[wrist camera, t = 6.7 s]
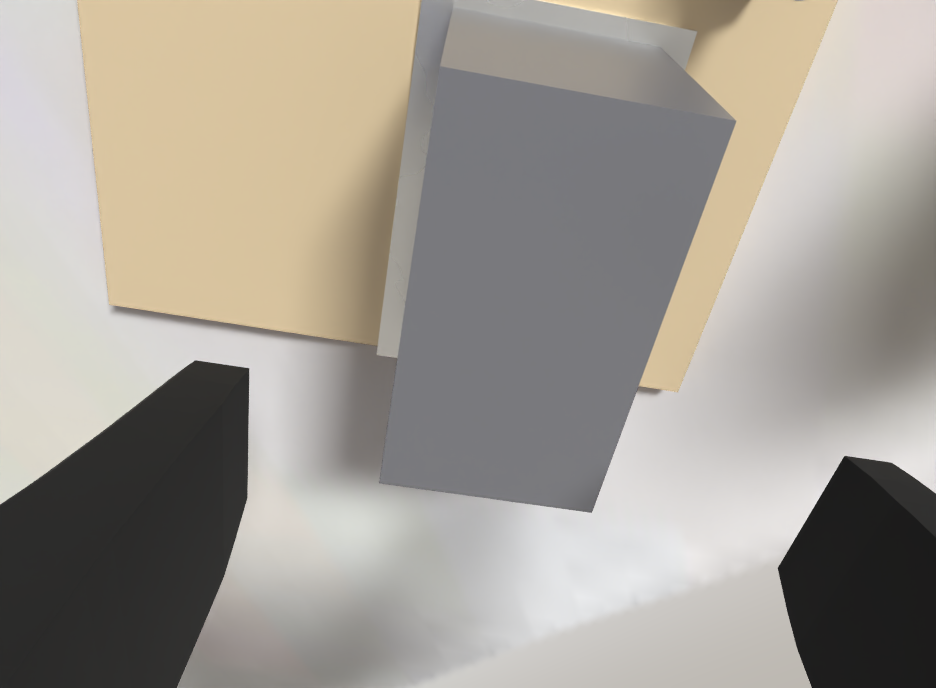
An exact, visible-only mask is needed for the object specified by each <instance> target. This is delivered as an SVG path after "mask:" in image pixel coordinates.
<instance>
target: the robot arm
mask: <svg viewBox="0 0 936 688" xmlns="http://www.w3.org/2000/svg"><path fill="white" fill-rule="evenodd" d="M248 414H249V368H243V367H236V366H229V365H223V364H216V363H209V362H202V361H194V362H192V363H191V364H189V365H188V366H187V367H185V368H184V369H182V370H181V371H180V372H178V373H177V374H176V375H175V376H173V377H172V378H171V379H169V380H168V381H167V382H166V383H164V384H163V385H162V386H160V387H159V388H158V389H157V390H155V391H154V392H153V393H152V394H150V395H149V396H148V397H146V398H145V399H144V400H143V401H141V402H140V403H139V404H138V405H136V406H135V407H134V408H132V409H131V410H130V411H129V412H127V413H126V414H125V415H123V416H122V417H121V418H119V419H118V420H117V421H116V422H114V423H113V424H112V425H110V426H109V427H108V428H106V429H105V430H104V431H103V432H101V433H100V434H99V435H97V436H96V437H94V438H93V439H92V440H90V441H89V442H88V443H86V444H85V445H84V446H82V447H81V448H80V449H78V450H77V451H75V452H74V453H73V454H71V455H70V456H69V457H67V458H66V459H65V460H63V461H62V462H61V463H59V464H58V465H56V466H55V467H54V468H52V469H51V470H50V471H48V472H47V473H46V474H44V475H43V476H41V477H40V478H39V479H37V480H36V481H34V482H33V483H32V484H30V485H29V486H27V487H26V488H24V489H23V490H21V491H20V492H18V493H17V494H15V495H14V496H12V497H11V498H9V499H8V500H6V501H5V502H3V503H2V504H0V688H177V686H178V683H179V681H180V679H181V676H182V674H183V672H184V669H185V667H186V665H187V662H188V660H189V658H190V655H191V653H192V651H193V648H194V646H195V644H196V641H197V639H198V637H199V634H200V632H201V630H202V627H203V625H204V623H205V620H206V618H207V616H208V613H209V611H210V608H211V606H212V604H213V601H214V599H215V597H216V594H217V592H218V589H219V587H220V585H221V582H222V580H223V577H224V575H225V571H226V568H227V565H228V561H229V558H230V555H231V552H232V548H233V545H234V542H235V538H236V535H237V532H238V528H239V525H240V521H241V518H242V514H243V511H244V507H245V504H246V500H247V482H248ZM778 571H779V575H780V580H781V585H782V589H783V594H784V598H785V602H786V607H787V612H788V616H789V619H790V623H791V627H792V631H793V634H794V638H795V642H796V646H797V649H798V652H799V654H800V657H801V660H802V663H803V665H804V668H805V671H806V673H807V676H808V678H809V681H810V684H811V686H812V688H936V494H935V493H934V492H933V491H931V490H930V489H929V488H927V487H926V486H925V485H923V484H922V483H921V482H919V481H918V480H916V479H915V478H914V477H912V476H911V475H909V474H908V473H906V472H905V471H903V470H902V469H900V468H899V467H897V466H896V465H894V464H893V463H889V462H882V461H876V460H869V459H862V458H855V457H848V456H844V458H843V459H842V461H841V463H840V465H839V466H838V468H837V470H836V471H835V473H834V475H833V476H832V478H831V480H830V481H829V483H828V485H827V486H826V488H825V490H824V491H823V493H822V495H821V496H820V498H819V500H818V501H817V503H816V505H815V507H814V508H813V510H812V512H811V513H810V515H809V517H808V518H807V520H806V522H805V523H804V525H803V527H802V528H801V530H800V532H799V533H798V535H797V537H796V538H795V540H794V542H793V544H792V545H791V547H790V549H789V550H788V552H787V554H786V555H785V557H784V559H783V560H782V562H781V564H780V565H779V567H778Z"/></svg>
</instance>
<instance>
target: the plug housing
mask: <svg viewBox="0 0 936 688" xmlns="http://www.w3.org/2000/svg"><path fill="white" fill-rule="evenodd" d="M735 124H736V120H735V119H734V118H733V117H732V116H731V115H730V114H729V113H728V112H727V111H726V110H725V109H724V108H723V107H722V106H721V105H720V104H719V103H718V102H717V101H716V100H715V99H714V98H713V97H712V96H711V95H709V94H708V93H707V92H706V91H705V90H704V89H703V88H702V87H701V86H700V85H699V84H698V83H697V82H696V81H695V80H694V79H693V78H692V77H691V76H690V75H689V74H688V73H687V72H686V71H685V70H684V69H683V68H682V67H681V66H680V65H679V64H678V63H677V62H676V61H674V60H673V59H672V58H671V57H670V56H669V55H668V54H667V53H666V52H665V51H664V50H663V49H662V48H661V47H659V46H654V45H649V44H644V43H638V42H633V41H628V40H623V39H618V38H612V37H607V36H602V35H597V34H591V33H586V32H581V31H576V30H570V29H565V28H560V27H555V26H550V25H544V24H539V23H534V22H529V21H523V20H518V19H513V18H508V17H502V16H497V15H492V14H487V13H481V12H476V11H471V10H466V9H461V8H455V7H453V10H452V15H451V19H450V24H449V28H448V33H447V37H446V41H445V46H444V50H443V55H442V59H441V64H440V69H439V76H438V83H437V90H436V97H435V103H434V110H433V117H432V124H431V131H430V138H429V145H428V151H427V158H426V165H425V172H424V179H423V186H422V193H421V200H420V206H419V213H418V220H417V227H416V234H415V241H414V248H413V254H412V261H411V268H410V275H409V282H408V289H407V296H406V302H405V309H404V316H403V323H402V330H401V337H400V344H399V351H398V357H397V364H396V371H395V378H394V385H393V392H392V399H391V405H390V412H389V419H388V426H387V433H386V440H385V447H384V453H383V460H382V467H381V474H380V481H379V483H382V484H389V485H396V486H403V487H410V488H418V489H425V490H432V491H439V492H446V493H454V494H461V495H468V496H475V497H483V498H490V499H497V500H504V501H511V502H519V503H526V504H533V505H540V506H547V507H555V508H562V509H569V510H576V511H583V512H591V513H592V511H593V508H594V505H595V503H596V500H597V497H598V495H599V492H600V489H601V486H602V484H603V481H604V478H605V476H606V473H607V470H608V467H609V465H610V462H611V459H612V457H613V454H614V451H615V449H616V446H617V443H618V440H619V438H620V435H621V432H622V430H623V427H624V424H625V422H626V419H627V416H628V413H629V411H630V408H631V405H632V403H633V400H634V397H635V394H636V392H637V389H638V386H639V384H640V381H641V378H642V376H643V373H644V370H645V367H646V365H647V362H648V359H649V357H650V354H651V351H652V349H653V346H654V343H655V340H656V338H657V335H658V332H659V330H660V327H661V324H662V321H663V319H664V316H665V313H666V311H667V308H668V305H669V303H670V300H671V297H672V294H673V292H674V289H675V286H676V284H677V281H678V278H679V275H680V273H681V270H682V267H683V265H684V262H685V259H686V257H687V254H688V251H689V248H690V246H691V243H692V240H693V238H694V235H695V232H696V230H697V227H698V224H699V221H700V219H701V216H702V213H703V211H704V208H705V205H706V202H707V200H708V197H709V194H710V192H711V189H712V186H713V184H714V181H715V178H716V175H717V173H718V170H719V167H720V165H721V162H722V159H723V157H724V154H725V151H726V148H727V146H728V143H729V140H730V138H731V135H732V132H733V129H734V127H735Z"/></svg>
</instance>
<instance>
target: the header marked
mask: <svg viewBox="0 0 936 688" xmlns="http://www.w3.org/2000/svg"><path fill="white" fill-rule="evenodd" d="M453 7H455V8H461V9H466V10H471V11H476V12H481V13H487V14H492V15H497V16H502V17H508V18H513V19H518V20H523V21H529V22H534V23H539V24H544V25H550V26H555V27H560V28H565V29H570V30H576V31H581V32H586V33H591V34H597V35H602V36H607V37H612V38H618V39H623V40H628V41H633V42H638V43H644V44H649V45H654V46H659V47H661V48H662V49H663V50H664V51H665V52H666V53H667V54H668V55H669V56H670V57H671V58H672V59H673V60H674V61H676V62H677V63H678V64H679V65H680V66H681V67H682V68H683V69H684V70H685V69H686V66H687V62H688V59H689V56H690V53H691V50H692V47H693V44H694V41H695V37H696V34H697V31H696V30H691V29H685V28H680V27H675V26H670V25H665V24H660V23H654V22H649V21H644V20H639V19H634V18H629V17H624V16H618V15H613V14H608V13H603V12H598V11H593V10H587V9H582V8H577V7H572V6H567V5H562V4H557V3H551V2H546V1H541V0H422V1H421V9H420V17H419V25H418V33H417V40H416V48H415V56H414V64H413V72H412V80H411V88H410V95H409V103H408V111H407V119H406V127H405V135H404V143H403V150H402V158H401V166H400V174H399V182H398V190H397V198H396V205H395V213H394V221H393V229H392V237H391V245H390V253H389V260H388V268H387V276H386V284H385V292H384V300H383V308H382V316H381V323H380V331H379V339H378V347H377V355H380V356H386V357H393V358H397V357H398V351H399V344H400V337H401V330H402V323H403V316H404V309H405V302H406V296H407V289H408V282H409V275H410V268H411V261H412V254H413V248H414V241H415V234H416V227H417V220H418V213H419V206H420V200H421V193H422V186H423V179H424V172H425V165H426V158H427V151H428V145H429V138H430V131H431V124H432V117H433V110H434V103H435V97H436V90H437V83H438V76H439V69H440V64H441V59H442V55H443V50H444V46H445V41H446V37H447V33H448V28H449V24H450V19H451V15H452V10H453Z"/></svg>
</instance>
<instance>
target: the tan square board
mask: <svg viewBox="0 0 936 688" xmlns="http://www.w3.org/2000/svg"><path fill="white" fill-rule="evenodd" d="M421 1H422V0H77V3H78V13H79V22H80V32H81V41H82V50H83V60H84V69H85V79H86V88H87V98H88V107H89V117H90V126H91V136H92V145H93V155H94V164H95V174H96V183H97V193H98V202H99V212H100V221H101V231H102V240H103V250H104V259H105V269H106V278H107V288H108V297H109V305H115V306H121V307H128V308H134V309H141V310H147V311H154V312H160V313H167V314H173V315H180V316H186V317H193V318H199V319H206V320H212V321H219V322H225V323H232V324H238V325H245V326H251V327H258V328H264V329H271V330H277V331H284V332H290V333H297V334H303V335H310V336H316V337H323V338H329V339H336V340H342V341H349V342H355V343H362V344H368V345H375V346H378V339H379V331H380V323H381V316H382V308H383V300H384V292H385V284H386V276H387V268H388V260H389V253H390V245H391V237H392V229H393V221H394V213H395V205H396V198H397V190H398V182H399V174H400V166H401V158H402V150H403V143H404V135H405V127H406V119H407V111H408V103H409V95H410V88H411V80H412V72H413V64H414V56H415V48H416V40H417V33H418V25H419V17H420V9H421ZM541 1H546V2H551V3H557V4H562V5H567V6H572V7H577V8H582V9H587V10H593V11H598V12H603V13H608V14H613V15H618V16H624V17H629V18H634V19H639V20H644V21H649V22H654V23H660V24H665V25H670V26H675V27H680V28H685V29H691V30H696V31H697V34H696V37H695V41H694V44H693V47H692V50H691V53H690V56H689V59H688V62H687V66H686V69H685V71H686V72H687V73H688V74H689V75H690V76H691V77H692V78H693V79H694V80H695V81H696V82H697V83H698V84H699V85H700V86H701V87H702V88H703V89H704V90H705V91H706V92H707V93H708V94H709V95H711V96H712V97H713V98H714V99H715V100H716V101H717V102H718V103H719V104H720V105H721V106H722V107H723V108H724V109H725V110H726V111H727V112H728V113H729V114H730V115H731V116H732V117H733V118H734V119H735V120H736V124H735V127H734V129H733V132H732V135H731V138H730V140H729V143H728V146H727V148H726V151H725V154H724V157H723V159H722V162H721V165H720V167H719V170H718V173H717V175H716V178H715V181H714V184H713V186H712V189H711V192H710V194H709V197H708V200H707V202H706V205H705V208H704V211H703V213H702V216H701V219H700V221H699V224H698V227H697V230H696V232H695V235H694V238H693V240H692V243H691V246H690V248H689V251H688V254H687V257H686V259H685V262H684V265H683V267H682V270H681V273H680V275H679V278H678V281H677V284H676V286H675V289H674V292H673V294H672V297H671V300H670V303H669V305H668V308H667V311H666V313H665V316H664V319H663V321H662V324H661V327H660V330H659V332H658V335H657V338H656V340H655V343H654V346H653V349H652V351H651V354H650V357H649V359H648V362H647V365H646V367H645V370H644V373H643V376H642V378H641V381H640V384H639V386H641V387H648V388H654V389H661V390H667V391H674V392H678V391H679V388H680V386H681V383H682V381H683V378H684V376H685V373H686V371H687V369H688V366H689V364H690V361H691V359H692V356H693V354H694V351H695V349H696V347H697V344H698V342H699V339H700V337H701V334H702V332H703V329H704V327H705V325H706V322H707V320H708V317H709V315H710V312H711V310H712V307H713V305H714V303H715V300H716V298H717V295H718V293H719V290H720V288H721V285H722V283H723V280H724V278H725V276H726V273H727V271H728V268H729V266H730V263H731V261H732V258H733V256H734V254H735V251H736V249H737V246H738V244H739V241H740V239H741V236H742V234H743V232H744V229H745V227H746V224H747V222H748V219H749V217H750V214H751V212H752V209H753V207H754V205H755V202H756V200H757V197H758V195H759V192H760V190H761V187H762V185H763V183H764V180H765V178H766V175H767V173H768V170H769V168H770V165H771V163H772V161H773V158H774V156H775V153H776V151H777V148H778V146H779V143H780V141H781V138H782V136H783V134H784V131H785V129H786V126H787V124H788V121H789V119H790V116H791V114H792V112H793V109H794V107H795V104H796V102H797V99H798V97H799V94H800V92H801V90H802V87H803V85H804V82H805V80H806V77H807V75H808V72H809V70H810V68H811V65H812V63H813V60H814V58H815V55H816V53H817V50H818V48H819V45H820V43H821V41H822V38H823V36H824V33H825V31H826V28H827V26H828V23H829V21H830V19H831V16H832V14H833V11H834V9H835V6H836V4H837V1H838V0H804V1H794V0H541Z"/></svg>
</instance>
